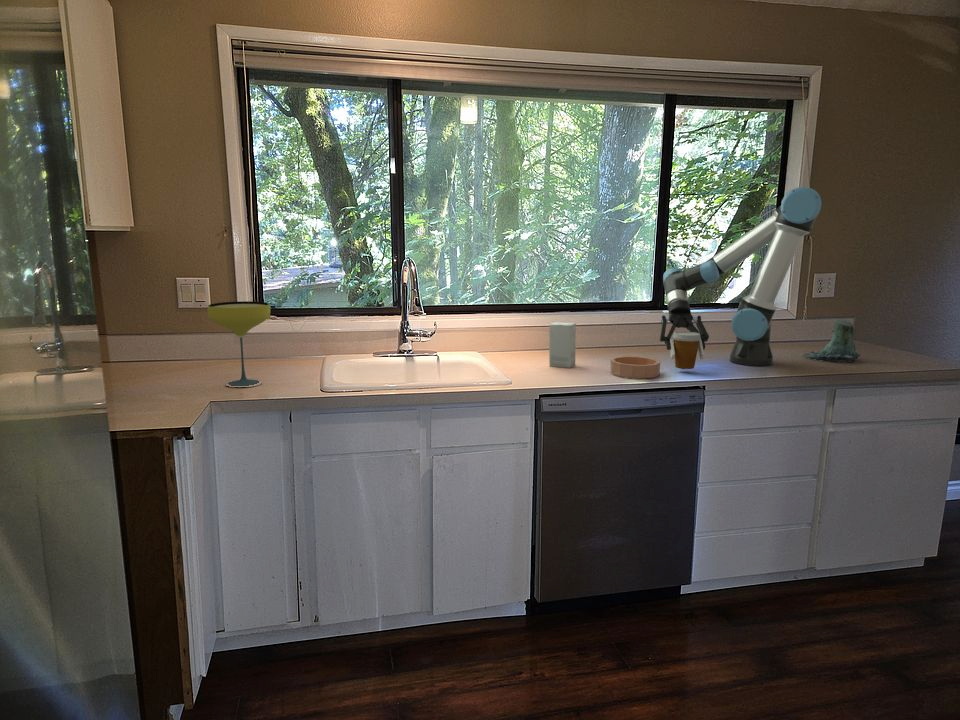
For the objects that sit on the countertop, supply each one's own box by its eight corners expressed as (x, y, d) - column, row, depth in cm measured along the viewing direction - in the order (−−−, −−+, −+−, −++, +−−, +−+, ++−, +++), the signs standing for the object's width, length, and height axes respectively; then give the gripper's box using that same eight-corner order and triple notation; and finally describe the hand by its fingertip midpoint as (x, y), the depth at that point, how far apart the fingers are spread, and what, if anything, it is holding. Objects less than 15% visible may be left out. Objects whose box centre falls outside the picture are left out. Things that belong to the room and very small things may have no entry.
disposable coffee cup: (700, 370, 227) (702, 336, 225) (671, 369, 229) (673, 335, 227) (697, 365, 237) (699, 331, 234) (669, 364, 238) (671, 330, 236)
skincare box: (575, 365, 243) (577, 322, 240) (570, 368, 237) (571, 325, 234) (553, 363, 246) (555, 321, 243) (547, 366, 240) (549, 323, 237)
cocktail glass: (203, 391, 200) (197, 307, 195) (225, 377, 218) (220, 301, 213) (263, 391, 200) (259, 308, 195) (281, 378, 218) (277, 301, 213)
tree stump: (829, 354, 273) (844, 313, 266) (867, 375, 256) (884, 332, 248) (792, 353, 267) (807, 311, 260) (828, 375, 250) (845, 331, 243)
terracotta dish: (653, 369, 238) (653, 356, 237) (663, 379, 222) (664, 365, 221) (607, 368, 238) (607, 355, 237) (614, 378, 222) (615, 365, 221)
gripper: (706, 311, 244) (717, 363, 232) (646, 311, 245) (653, 362, 232) (711, 298, 238) (723, 350, 225) (649, 298, 239) (657, 350, 226)
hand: (687, 356), depth 229 cm, fingers closed on disposable coffee cup, 9 cm apart
